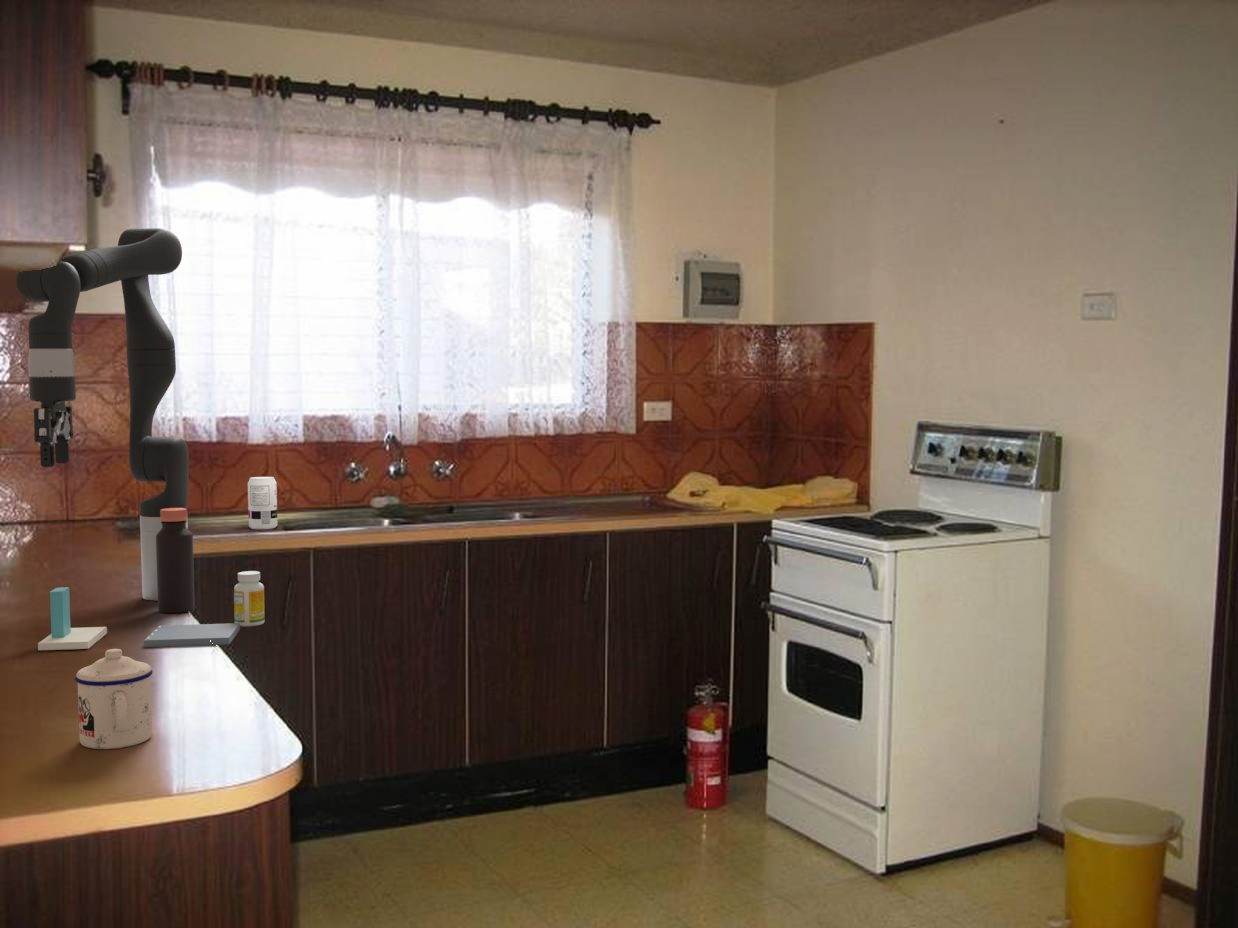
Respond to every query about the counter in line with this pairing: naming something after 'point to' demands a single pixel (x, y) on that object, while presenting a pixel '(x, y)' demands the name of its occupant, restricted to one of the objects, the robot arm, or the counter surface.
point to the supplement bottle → (249, 599)
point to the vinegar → (175, 563)
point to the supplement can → (262, 503)
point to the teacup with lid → (114, 702)
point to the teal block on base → (67, 626)
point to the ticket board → (192, 635)
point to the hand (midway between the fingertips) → (55, 464)
